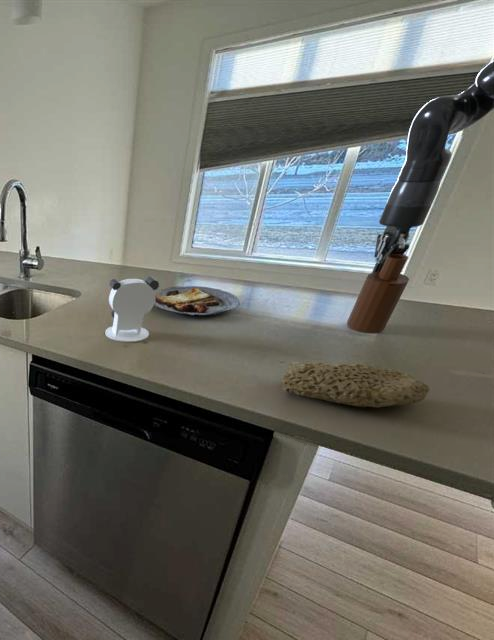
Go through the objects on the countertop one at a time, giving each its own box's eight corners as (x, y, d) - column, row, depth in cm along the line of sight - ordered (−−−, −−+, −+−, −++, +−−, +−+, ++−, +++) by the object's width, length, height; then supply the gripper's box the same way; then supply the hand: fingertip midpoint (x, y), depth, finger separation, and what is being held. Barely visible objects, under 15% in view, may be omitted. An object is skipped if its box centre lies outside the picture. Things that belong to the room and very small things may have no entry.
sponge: (278, 404, 79) (428, 422, 65) (281, 366, 77) (436, 375, 63) (291, 388, 88) (426, 400, 74) (294, 353, 86) (433, 358, 72)
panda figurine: (143, 324, 115) (150, 272, 108) (157, 340, 105) (165, 284, 98) (101, 327, 116) (104, 275, 108) (111, 343, 106) (116, 288, 98)
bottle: (379, 320, 103) (413, 250, 92) (387, 334, 98) (424, 262, 87) (343, 318, 106) (373, 250, 95) (350, 331, 101) (381, 262, 90)
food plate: (179, 325, 112) (182, 313, 111) (133, 300, 132) (134, 290, 130) (255, 311, 117) (259, 299, 115) (200, 289, 136) (202, 279, 135)
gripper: (444, 206, 84) (406, 287, 93) (419, 198, 94) (387, 271, 103) (397, 207, 87) (364, 285, 96) (378, 199, 97) (350, 270, 106)
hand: (376, 278), depth 100 cm, fingers closed
